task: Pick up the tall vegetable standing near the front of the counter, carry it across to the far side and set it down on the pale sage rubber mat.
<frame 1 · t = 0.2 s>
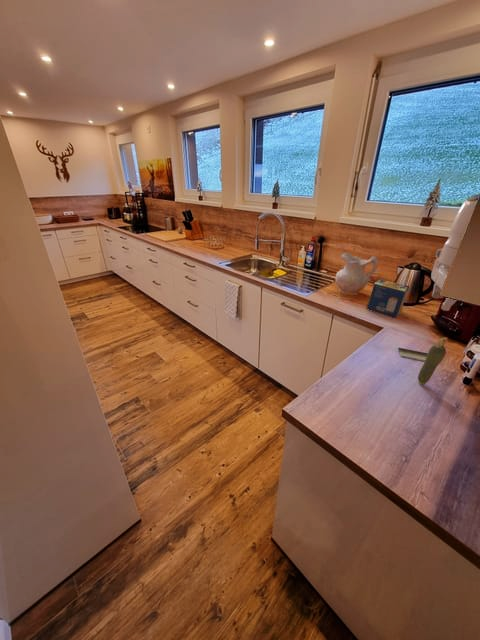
hand: (439, 303, 79), 31 cm above the worktop, tool pointing down, fingers open, 8 cm apart
ceramic pitcher: (350, 292, 169), on the worktop
vegetable: (422, 383, 94), on the worktop
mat: (415, 352, 111), on the worktop
protein box: (383, 311, 146), on the worktop
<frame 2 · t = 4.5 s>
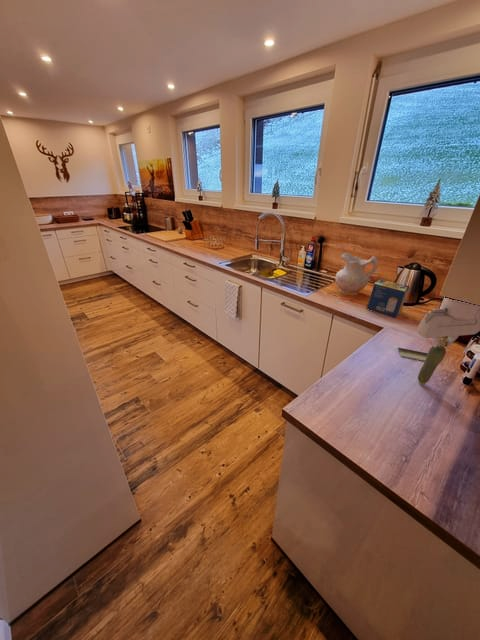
hand: (440, 345, 86), 16 cm above the worktop, tool pointing down, fingers closed on vegetable, 3 cm apart
vegetable: (422, 383, 94), on the worktop, touching gripper
everything else where it was.
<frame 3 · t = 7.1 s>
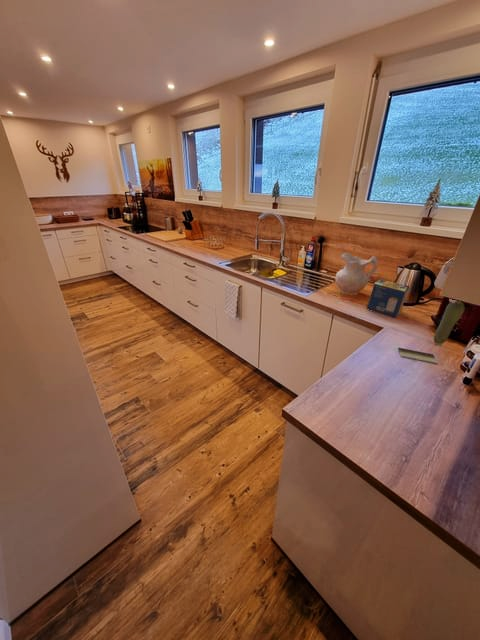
hand: (458, 301, 81), 31 cm above the worktop, tool pointing down, fingers closed on vegetable, 3 cm apart
vegetable: (438, 345, 88), point 15 cm above the worktop, touching gripper
everything else where it was.
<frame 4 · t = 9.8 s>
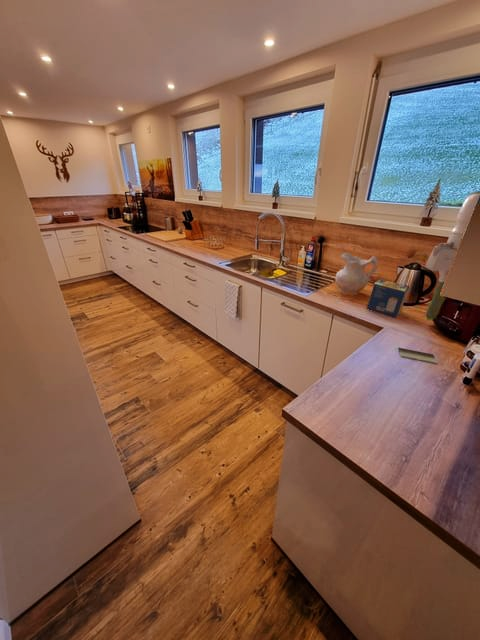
hand: (446, 281, 95), 32 cm above the worktop, tool pointing down, fingers closed on vegetable, 3 cm apart
vegetable: (429, 320, 103), point 16 cm above the worktop, touching gripper
everything else where it was.
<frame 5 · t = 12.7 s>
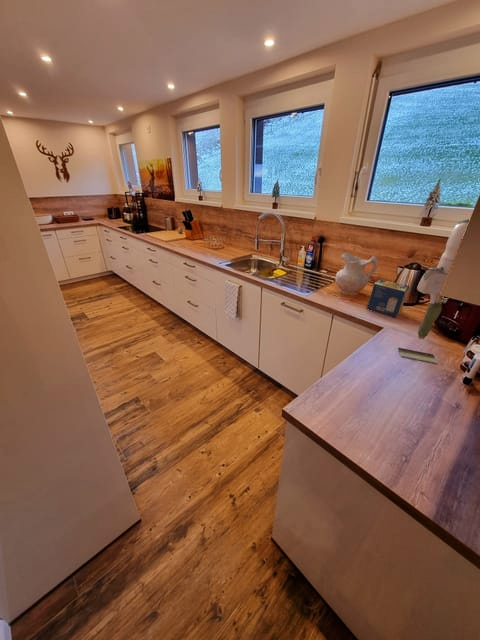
hand: (437, 302, 99), 23 cm above the worktop, tool pointing down, fingers closed on vegetable, 3 cm apart
vegetable: (421, 338, 107), point 7 cm above the worktop, touching gripper
everything else where it was.
when the fingers open (17 cm above the worktop, at t = 15.2 s): vegetable stays where it is, resting on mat.
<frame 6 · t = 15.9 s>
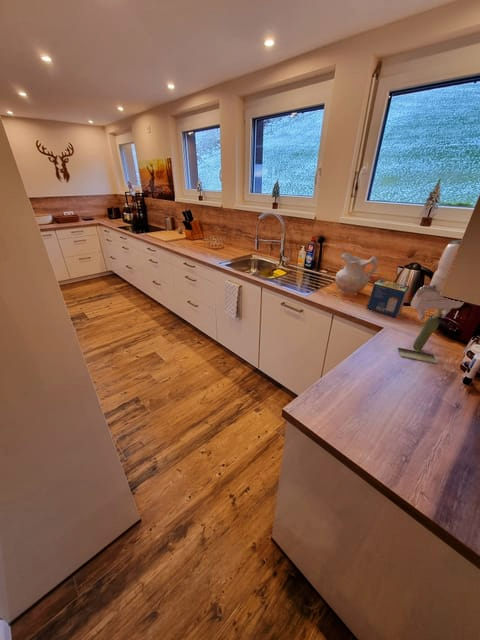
hand: (430, 318, 103), 17 cm above the worktop, tool pointing down, fingers open, 8 cm apart
vegetable: (415, 351, 110), resting on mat, touching gripper
everything else where it was.
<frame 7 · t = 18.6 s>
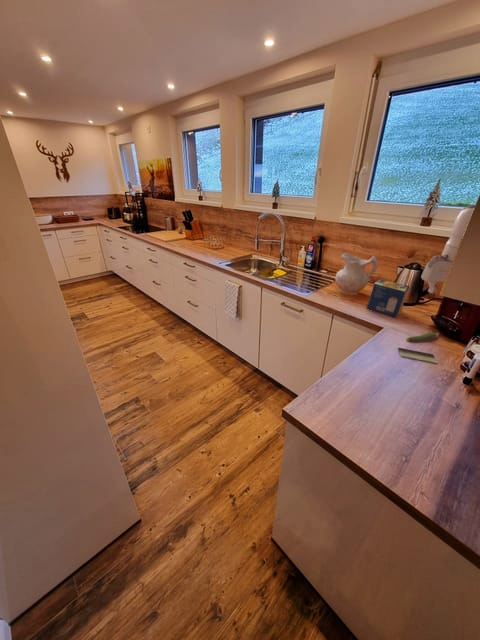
hand: (442, 291, 97), 28 cm above the worktop, tool pointing down, fingers open, 8 cm apart
vegetable: (407, 341, 114), point 2 cm above the worktop, touching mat
everything else where it was.
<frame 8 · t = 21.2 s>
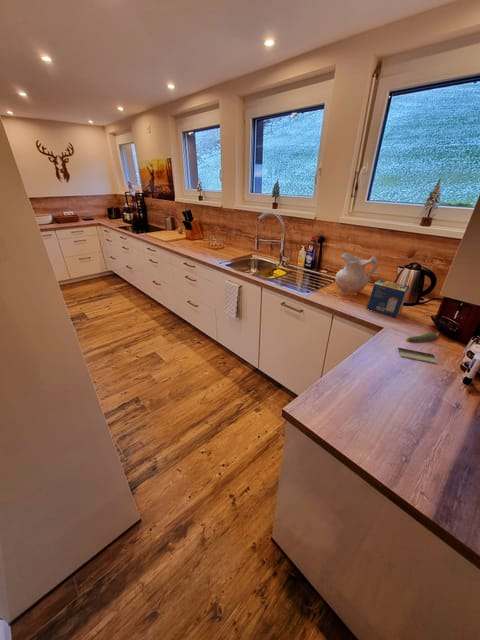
nothing on the worktop moved.
at the end: vegetable inside the target area on the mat (5.5 cm from its centre), point 2.2 cm above the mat's base; the gripper is holding nothing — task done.
